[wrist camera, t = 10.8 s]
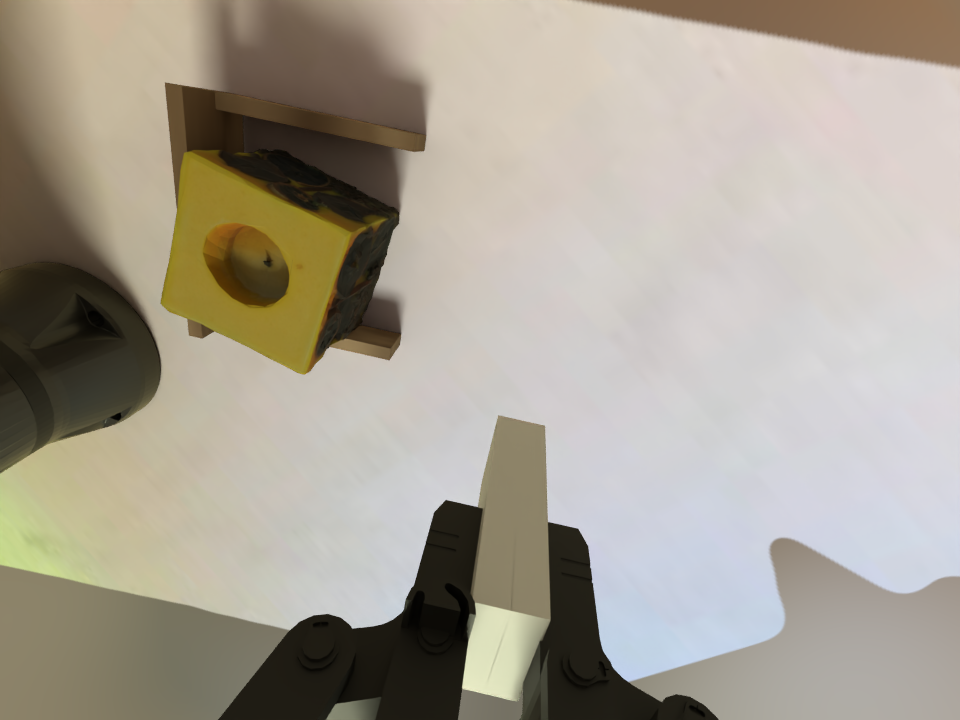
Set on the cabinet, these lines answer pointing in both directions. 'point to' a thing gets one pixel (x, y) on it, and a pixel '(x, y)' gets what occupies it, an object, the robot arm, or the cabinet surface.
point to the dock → (219, 126)
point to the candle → (274, 253)
